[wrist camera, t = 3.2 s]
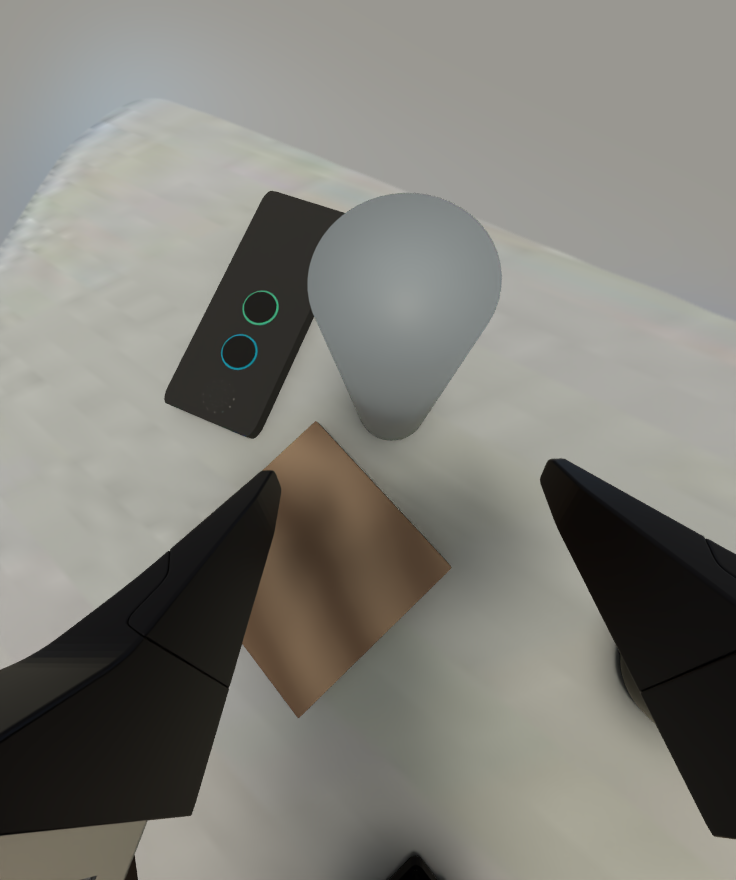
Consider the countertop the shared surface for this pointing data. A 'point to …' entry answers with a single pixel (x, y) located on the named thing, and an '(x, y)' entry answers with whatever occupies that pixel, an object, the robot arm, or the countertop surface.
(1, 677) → the robot arm
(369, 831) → the countertop surface
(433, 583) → the walnut board
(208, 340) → the smart home device
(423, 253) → the slate round-topped tapered cone
